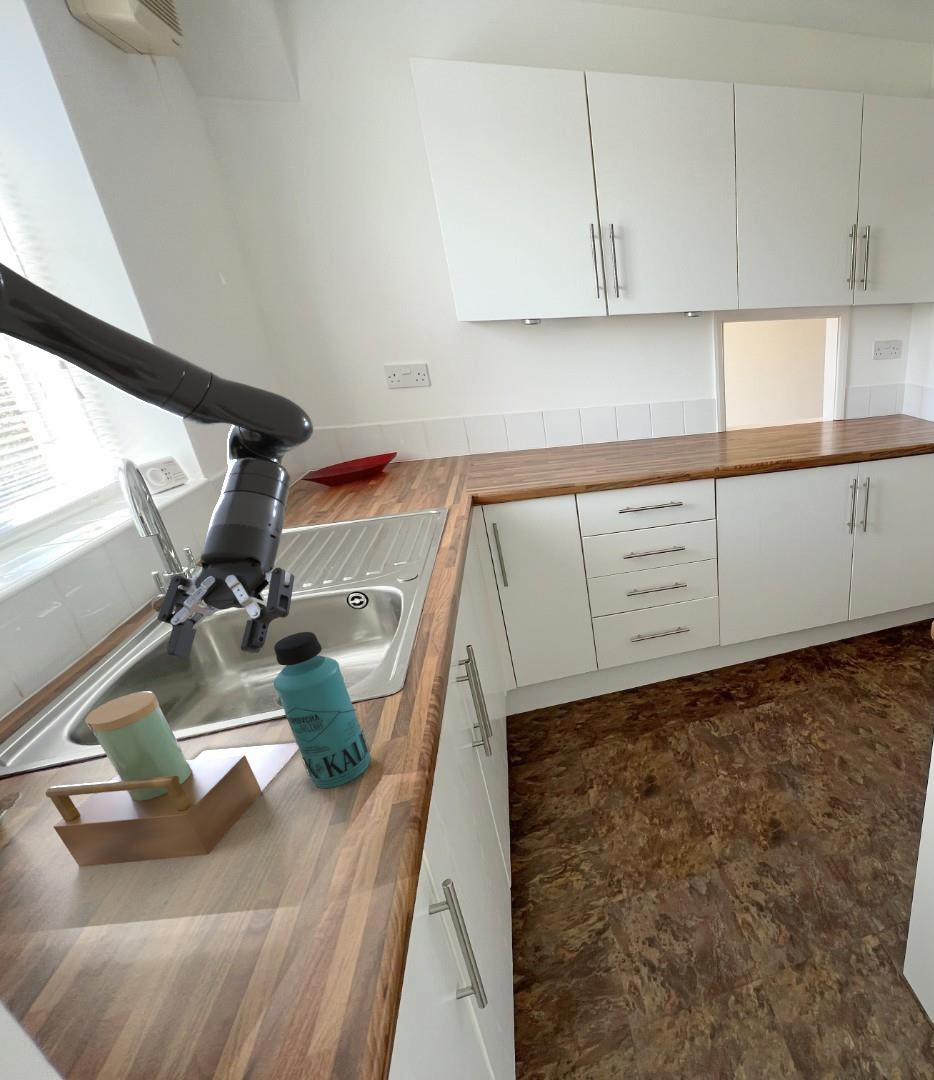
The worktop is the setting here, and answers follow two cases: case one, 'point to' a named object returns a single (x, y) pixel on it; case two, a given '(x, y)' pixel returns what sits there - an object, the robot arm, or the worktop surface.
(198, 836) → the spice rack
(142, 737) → the spice jar
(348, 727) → the beverage bottle
